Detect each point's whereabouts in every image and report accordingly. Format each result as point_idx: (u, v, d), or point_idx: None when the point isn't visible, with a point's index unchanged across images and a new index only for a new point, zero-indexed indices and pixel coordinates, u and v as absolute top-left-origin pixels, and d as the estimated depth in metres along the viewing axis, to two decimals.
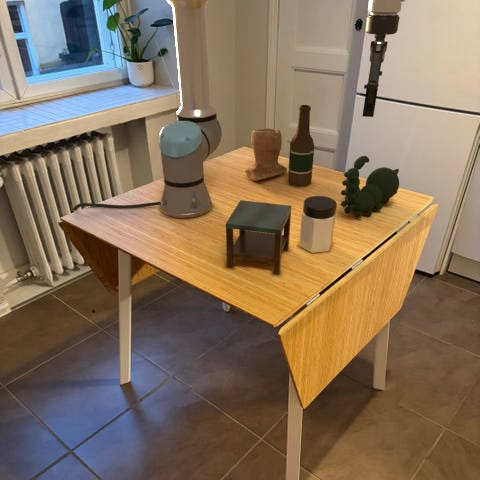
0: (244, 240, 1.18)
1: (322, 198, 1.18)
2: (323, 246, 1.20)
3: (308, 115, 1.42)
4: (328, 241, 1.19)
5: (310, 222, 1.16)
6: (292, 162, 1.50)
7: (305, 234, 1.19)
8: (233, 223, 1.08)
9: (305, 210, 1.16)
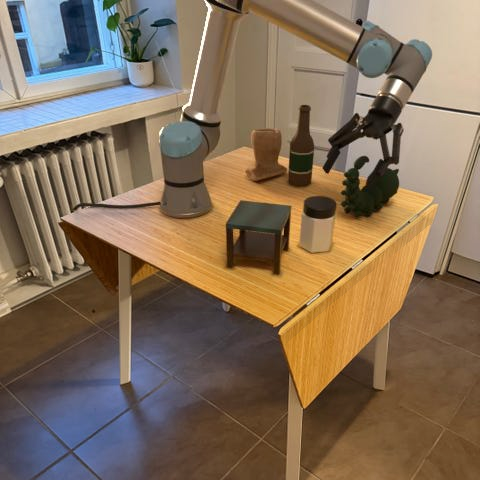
0: (244, 240, 1.18)
1: (322, 198, 1.18)
2: (323, 246, 1.20)
3: (308, 115, 1.42)
4: (328, 241, 1.19)
5: (310, 222, 1.16)
6: (292, 162, 1.50)
7: (305, 234, 1.19)
8: (233, 223, 1.08)
9: (305, 210, 1.16)
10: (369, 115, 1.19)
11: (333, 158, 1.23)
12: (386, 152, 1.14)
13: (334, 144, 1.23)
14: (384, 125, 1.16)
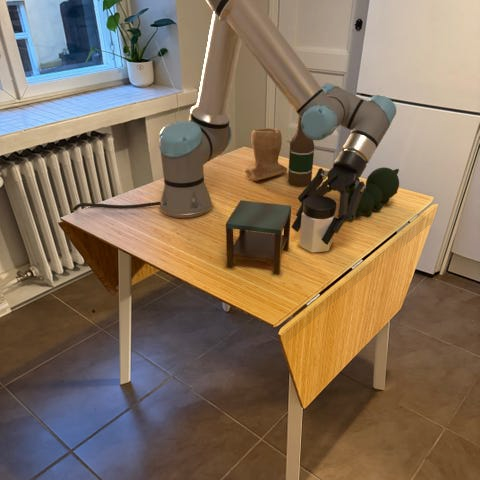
0: (244, 240, 1.18)
1: (322, 198, 1.18)
2: (323, 246, 1.20)
3: None
4: None
5: (310, 222, 1.16)
6: (292, 162, 1.50)
7: (305, 234, 1.19)
8: (233, 223, 1.08)
9: (305, 210, 1.16)
10: (334, 168, 1.19)
11: None
12: (341, 210, 1.15)
13: None
14: (348, 180, 1.16)
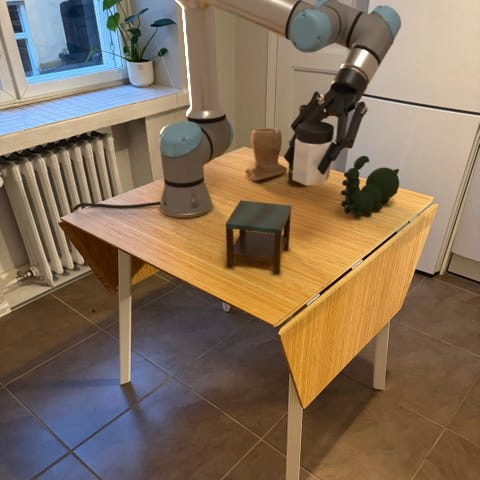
0: (244, 240, 1.18)
1: (318, 123, 1.05)
2: (319, 178, 1.07)
3: None
4: (325, 172, 1.07)
5: (305, 149, 1.03)
6: (292, 162, 1.50)
7: (299, 164, 1.07)
8: (233, 223, 1.08)
9: (299, 135, 1.03)
10: (331, 90, 1.06)
11: None
12: (340, 134, 1.02)
13: None
14: (347, 101, 1.04)
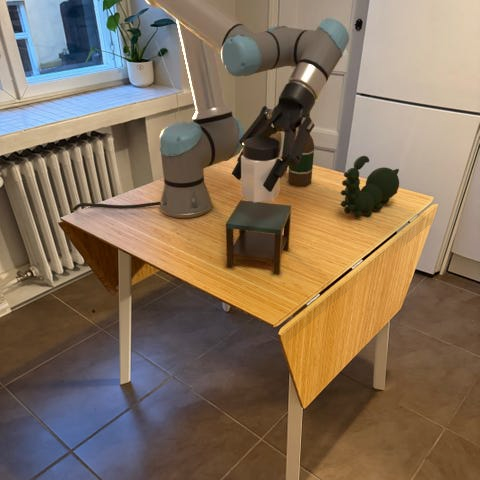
0: (244, 240, 1.18)
1: (265, 139, 1.03)
2: (267, 195, 1.04)
3: (308, 115, 1.42)
4: None
5: (250, 165, 1.01)
6: None
7: (246, 181, 1.04)
8: (233, 223, 1.08)
9: (244, 151, 1.01)
10: (279, 105, 1.04)
11: None
12: (285, 151, 1.00)
13: None
14: (294, 117, 1.01)
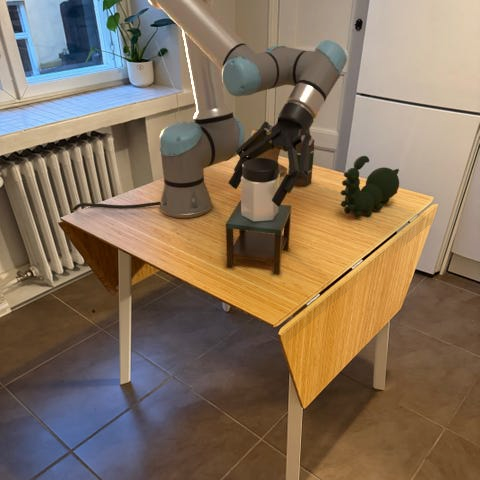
0: (244, 240, 1.18)
1: (264, 160, 1.06)
2: (266, 214, 1.07)
3: None
4: (271, 208, 1.07)
5: (250, 187, 1.04)
6: None
7: (246, 201, 1.07)
8: (233, 223, 1.08)
9: (244, 173, 1.03)
10: (278, 124, 1.06)
11: (241, 172, 1.10)
12: (293, 166, 1.01)
13: (242, 156, 1.09)
14: (293, 136, 1.03)
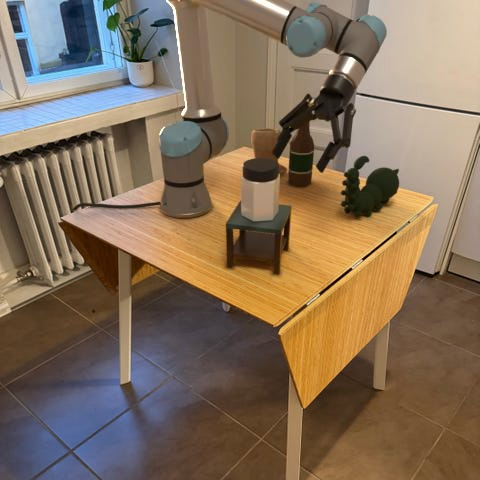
0: (244, 240, 1.18)
1: (264, 160, 1.06)
2: (266, 214, 1.07)
3: None
4: (271, 208, 1.07)
5: (250, 187, 1.04)
6: (292, 162, 1.50)
7: (246, 201, 1.07)
8: (233, 223, 1.08)
9: (244, 173, 1.03)
10: (321, 96, 1.12)
11: (283, 142, 1.16)
12: (336, 134, 1.07)
13: (285, 127, 1.15)
14: (335, 106, 1.09)
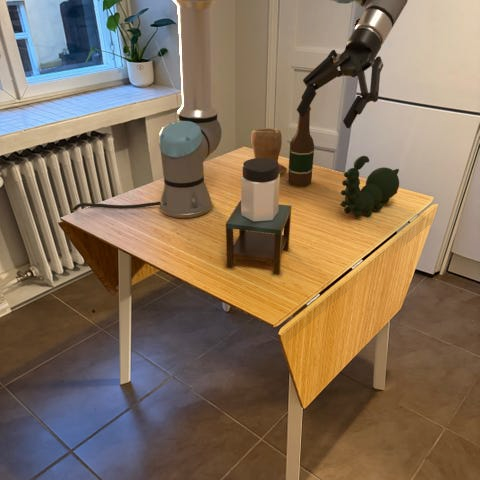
0: (244, 240, 1.18)
1: (264, 160, 1.06)
2: (266, 214, 1.07)
3: (308, 115, 1.42)
4: (271, 208, 1.07)
5: (250, 187, 1.04)
6: (292, 162, 1.50)
7: (246, 201, 1.07)
8: (233, 223, 1.08)
9: (244, 173, 1.03)
10: (346, 51, 1.10)
11: (308, 100, 1.14)
12: (364, 88, 1.05)
13: (309, 84, 1.14)
14: (362, 60, 1.08)
